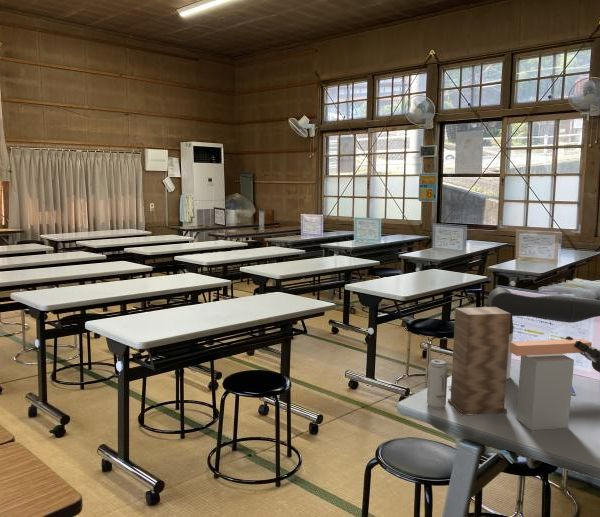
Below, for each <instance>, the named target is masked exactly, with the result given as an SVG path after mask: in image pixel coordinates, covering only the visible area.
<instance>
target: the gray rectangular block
mask: <svg viewBox="0 0 600 517" xmlns="http://www.w3.org/2000/svg"><path fill="white" fill-rule="evenodd" d="M574 364H575V359H573V358H571V357H569V356H567V355H566V354H546V355H526V356H520V363H519V366H520V367H519V376H518V377H519V380H518V393H517V408H516V420H517V421H519V422H520V423H521V424H523V425H524V426H525V427H526V428H528V429H530V431H541V430H553V429H568V428H569V424H570V422H569V421H570V411H571V410H570V409H571V402H572V395H571V390H572V387H573V376H574Z"/></svg>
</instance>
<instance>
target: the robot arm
mask: <svg viewBox="0 0 600 517" xmlns="http://www.w3.org/2000/svg"><path fill="white" fill-rule="evenodd" d="M486 302H487V306H486V307H497V308H499V309H502V310H504V311H506V312H508V313H511V317H510V331H509V346H508V360H507V375H506V380H509V379H510V377H511V368H512V355H513V353H511V352H510V342H514V340H513V338H514V323H513V322H514V320H513V317H527V318H529V317H530V318H536V319H541V320H547V321H553V322H560V323H562V322H563V323H569V324H571V323H572V324H573V323H579V322H583V321H587V320H590V319H592V318H596V317H600V299H591V298H579V297H578V298H577V297H572V296H563V295H542V296H527V295H523V294H517V293H513V292H511V291H510V290H509V289H507V288H505V287H497V288H493V289H492V290H491V291H490V292H489V294H488V296H487V300H486ZM565 339H574V338H573V337H571V336H569V335H567V336H566V337H565ZM574 347H576V348H578V349H579V350H581V351H583V352H584V353H579V354H580V355H582V356H583V357H584V358H585V359H587V360H589V361H590V362H591V366H592V368H593V369H594V370H595V371H596V372H598V373H599V374H600V349H598V348H596V347H593V346H587V345H586V344H584V343H582V342H581V341H579V340H577V341H576V343H575V345H574Z"/></svg>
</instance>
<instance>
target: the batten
mask: <svg viewBox="0 0 600 517" xmlns="http://www.w3.org/2000/svg"><path fill="white" fill-rule="evenodd" d="M577 340H579V341H581V342H582V343H584V344H586V345H587V346H591V347H593V346H592V345H593V343H592V341H589V340H587V339H584V338H573V339H566V338H565V339H552V340H551V339H547V340H546V339H545V340H529V341H528V340H527V341H525V340H524V341H512V342H510V352H511V353H512V355H514V356H517V357H521V356H526V355H546V354H563V355H566V354H580V353H583V354H584V352H583V351H581V350H579V349H578V348H576V347H574V345H575V343H576V341H577Z"/></svg>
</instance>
